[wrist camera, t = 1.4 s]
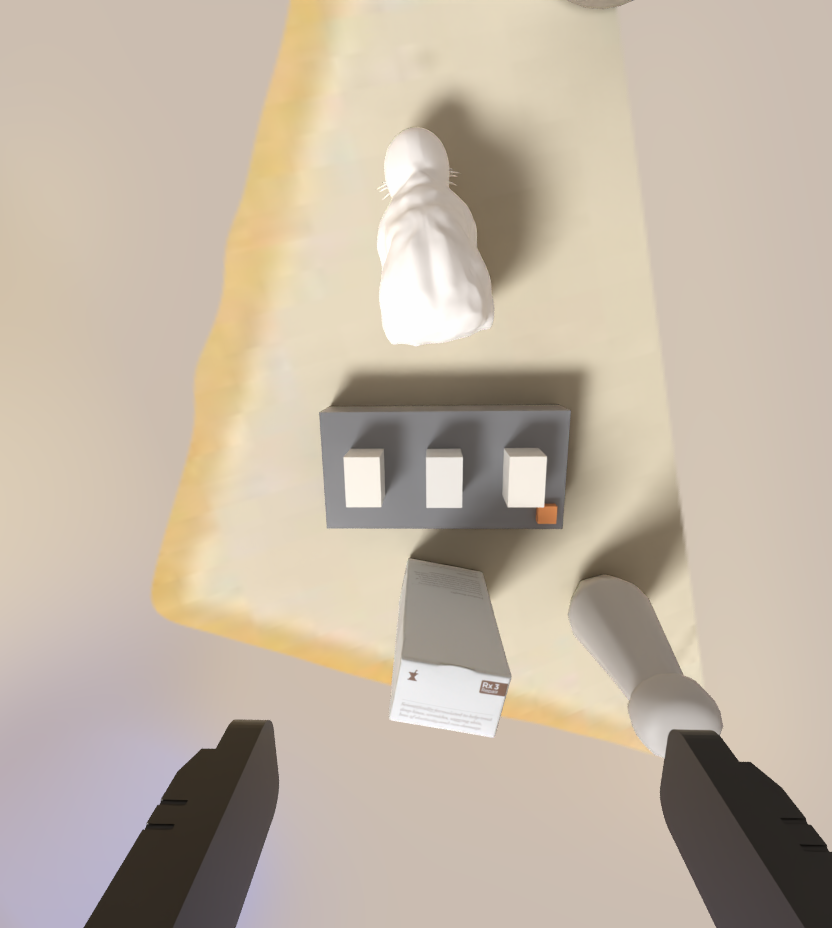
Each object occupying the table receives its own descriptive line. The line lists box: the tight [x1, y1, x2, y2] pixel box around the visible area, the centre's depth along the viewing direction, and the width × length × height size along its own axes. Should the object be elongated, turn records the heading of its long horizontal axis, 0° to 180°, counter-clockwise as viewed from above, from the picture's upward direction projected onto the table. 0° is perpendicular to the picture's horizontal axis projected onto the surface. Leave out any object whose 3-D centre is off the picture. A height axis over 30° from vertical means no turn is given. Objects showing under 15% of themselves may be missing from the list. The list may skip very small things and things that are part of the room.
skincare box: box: [389, 558, 511, 738], centre depth 30 cm, size 6×4×12 cm
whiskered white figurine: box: [377, 127, 494, 346], centre depth 26 cm, size 6×8×12 cm
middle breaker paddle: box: [426, 449, 463, 508], centre depth 29 cm, size 3×2×2 cm
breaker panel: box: [319, 404, 571, 529], centre depth 31 cm, size 8×16×5 cm, turn 91°
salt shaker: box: [568, 574, 723, 758], centre depth 29 cm, size 6×6×13 cm
